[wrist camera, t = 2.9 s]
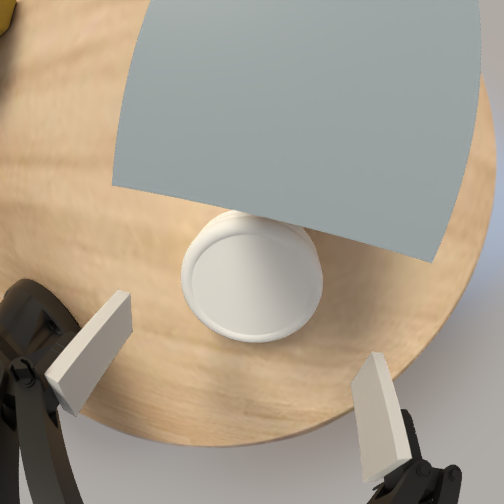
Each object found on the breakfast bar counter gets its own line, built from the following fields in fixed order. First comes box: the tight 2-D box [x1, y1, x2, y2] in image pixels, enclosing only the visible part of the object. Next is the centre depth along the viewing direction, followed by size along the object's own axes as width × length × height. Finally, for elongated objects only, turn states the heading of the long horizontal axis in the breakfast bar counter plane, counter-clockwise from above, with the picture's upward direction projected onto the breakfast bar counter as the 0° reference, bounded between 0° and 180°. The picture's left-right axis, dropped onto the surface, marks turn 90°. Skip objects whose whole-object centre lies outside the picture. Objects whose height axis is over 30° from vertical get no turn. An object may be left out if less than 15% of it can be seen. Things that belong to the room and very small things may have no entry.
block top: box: [112, 0, 481, 263], centre depth 7 cm, size 7×7×7 cm
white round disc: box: [181, 210, 323, 343], centre depth 20 cm, size 10×10×4 cm
